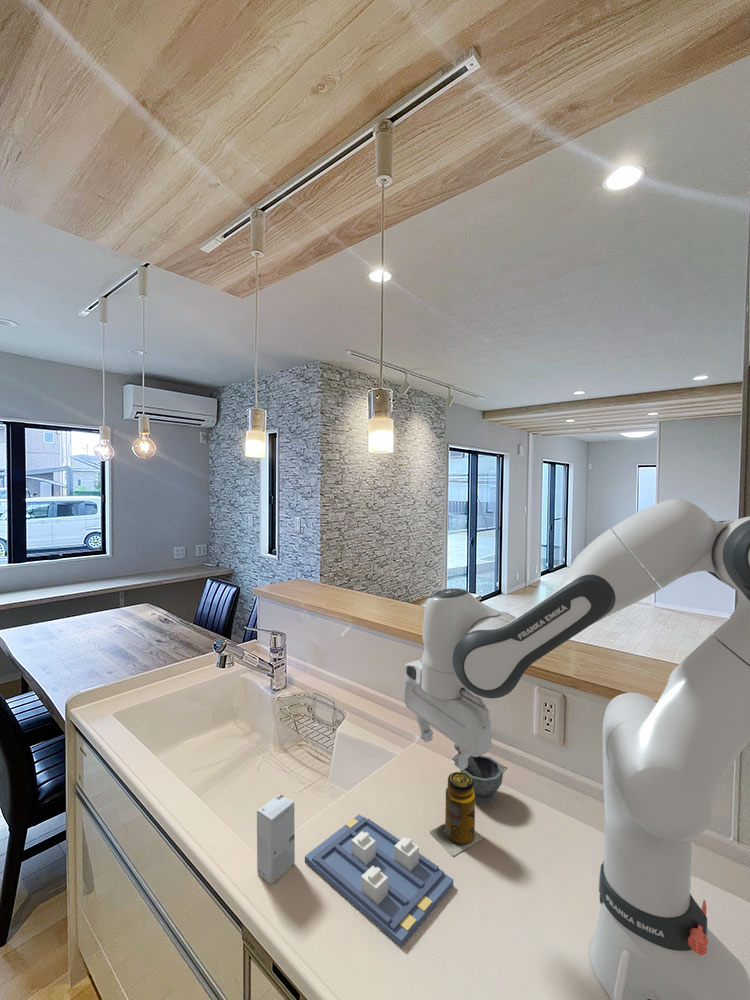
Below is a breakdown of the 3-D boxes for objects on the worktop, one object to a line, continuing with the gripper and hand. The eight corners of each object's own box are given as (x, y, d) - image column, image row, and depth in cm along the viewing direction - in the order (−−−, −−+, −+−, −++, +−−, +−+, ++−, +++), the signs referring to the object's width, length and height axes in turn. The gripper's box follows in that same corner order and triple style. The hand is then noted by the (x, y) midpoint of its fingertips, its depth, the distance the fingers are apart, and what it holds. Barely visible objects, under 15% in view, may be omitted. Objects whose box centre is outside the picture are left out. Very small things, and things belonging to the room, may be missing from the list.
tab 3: (418, 863, 86) (418, 842, 86) (409, 873, 84) (409, 852, 84) (404, 852, 89) (404, 832, 89) (394, 862, 87) (394, 841, 86)
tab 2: (387, 894, 80) (387, 872, 80) (376, 906, 78) (376, 884, 77) (372, 882, 82) (372, 861, 82) (361, 893, 80) (361, 871, 80)
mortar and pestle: (504, 788, 110) (505, 739, 109) (500, 814, 101) (500, 761, 100) (457, 776, 114) (458, 729, 113) (449, 801, 105) (450, 750, 104)
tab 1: (375, 856, 88) (375, 836, 88) (364, 866, 86) (364, 846, 85) (362, 846, 90) (362, 827, 90) (351, 855, 88) (351, 835, 88)
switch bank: (453, 885, 83) (453, 875, 83) (401, 947, 72) (401, 935, 72) (359, 819, 99) (359, 810, 99) (304, 862, 88) (304, 852, 88)
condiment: (483, 838, 94) (484, 782, 94) (453, 857, 90) (453, 797, 89) (458, 816, 100) (459, 763, 100) (429, 833, 96) (429, 777, 95)
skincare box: (271, 885, 83) (271, 821, 82) (255, 873, 86) (255, 810, 85) (296, 862, 88) (296, 801, 88) (280, 851, 91) (279, 792, 90)
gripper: (502, 698, 75) (498, 779, 76) (424, 655, 92) (422, 722, 93) (474, 708, 72) (471, 793, 73) (398, 662, 89) (396, 730, 90)
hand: (443, 752), depth 83 cm, fingers open, 8 cm apart
